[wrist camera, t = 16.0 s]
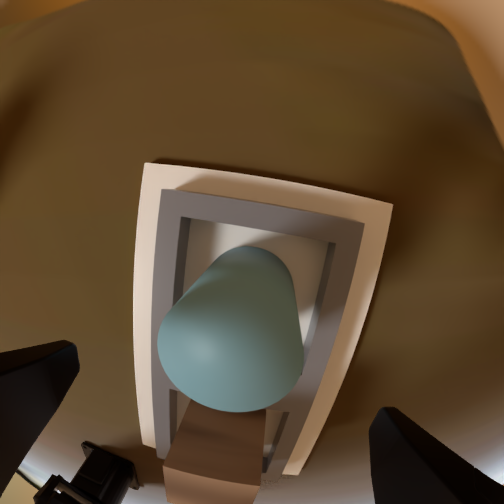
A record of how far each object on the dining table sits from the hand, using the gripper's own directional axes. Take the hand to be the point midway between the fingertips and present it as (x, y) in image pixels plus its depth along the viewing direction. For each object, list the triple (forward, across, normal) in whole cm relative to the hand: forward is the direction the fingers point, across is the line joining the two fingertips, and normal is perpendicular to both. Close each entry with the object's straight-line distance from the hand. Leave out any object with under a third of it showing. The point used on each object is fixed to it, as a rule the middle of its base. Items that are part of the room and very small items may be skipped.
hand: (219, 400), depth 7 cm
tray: (+10, 0, +6) cm, 11 cm away
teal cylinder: (+9, 0, 0) cm, 9 cm away
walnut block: (+9, 0, +11) cm, 14 cm away
